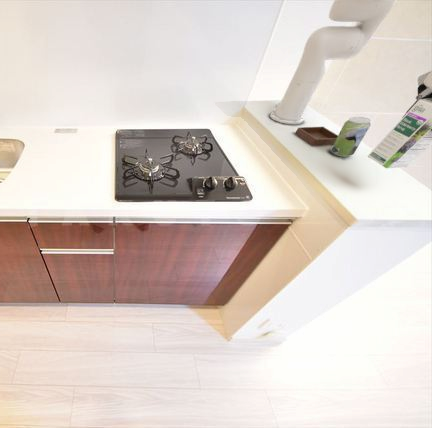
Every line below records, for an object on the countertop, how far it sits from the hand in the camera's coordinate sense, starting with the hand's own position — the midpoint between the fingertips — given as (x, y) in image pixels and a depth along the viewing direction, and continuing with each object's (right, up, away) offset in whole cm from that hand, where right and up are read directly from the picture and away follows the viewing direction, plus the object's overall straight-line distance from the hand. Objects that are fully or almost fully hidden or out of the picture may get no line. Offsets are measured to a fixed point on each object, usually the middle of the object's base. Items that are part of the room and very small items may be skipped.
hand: (423, 123), depth 51 cm
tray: (+7, +8, +35) cm, 37 cm away
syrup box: (0, -7, +7) cm, 10 cm away
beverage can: (+8, 0, +28) cm, 29 cm away
